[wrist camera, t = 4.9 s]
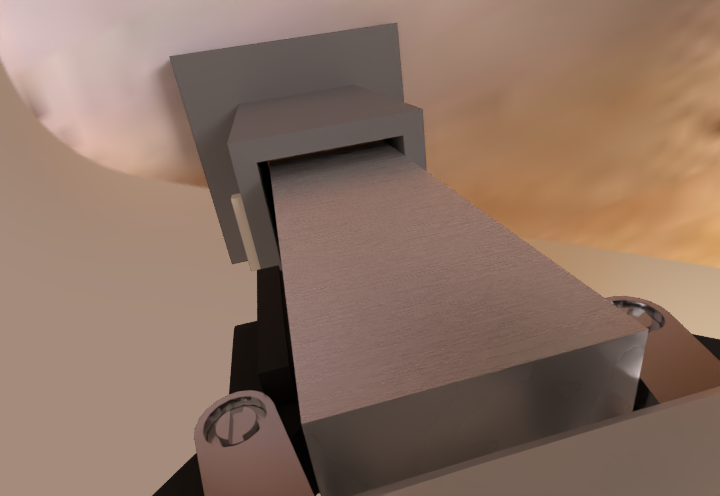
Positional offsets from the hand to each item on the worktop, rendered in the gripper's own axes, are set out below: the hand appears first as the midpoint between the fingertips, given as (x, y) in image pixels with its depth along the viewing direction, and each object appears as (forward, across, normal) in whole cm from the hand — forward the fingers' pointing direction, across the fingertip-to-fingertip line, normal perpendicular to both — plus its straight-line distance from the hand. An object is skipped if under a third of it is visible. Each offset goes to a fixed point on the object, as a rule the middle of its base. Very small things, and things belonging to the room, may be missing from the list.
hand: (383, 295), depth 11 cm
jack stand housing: (+19, 0, 0) cm, 19 cm away
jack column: (+14, 0, 0) cm, 14 cm away
